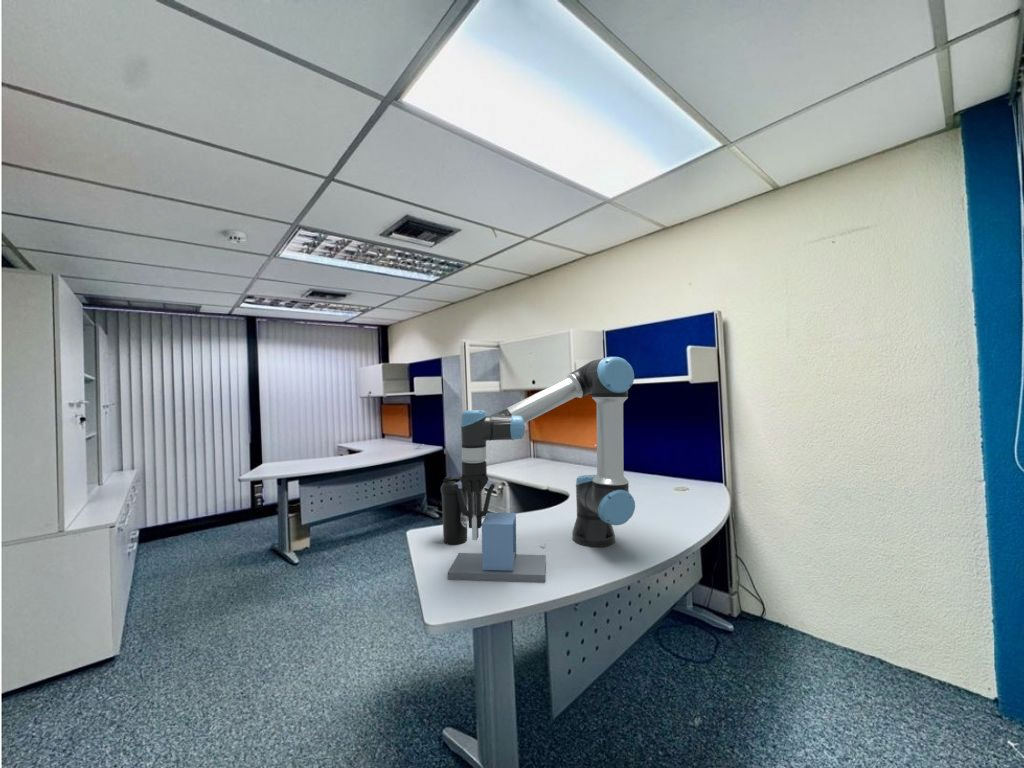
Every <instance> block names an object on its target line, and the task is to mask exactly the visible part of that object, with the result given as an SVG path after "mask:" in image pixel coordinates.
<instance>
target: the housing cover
mask: <svg viewBox="0 0 1024 768" xmlns="http://www.w3.org/2000/svg"><path fill="white" fill-rule="evenodd" d="M513 552H515V557H516V554H517V513H516V512H487V514H486V516H484V518H483V520H482V526H481V553H482V570H504V571H513V570H514V565H513Z"/></svg>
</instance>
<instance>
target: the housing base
mask: <svg viewBox="0 0 1024 768" xmlns="http://www.w3.org/2000/svg"><path fill="white" fill-rule="evenodd" d="M546 555H547V554H525V553H524V554H523V553H522V554H517V553H516V557H515V552H513V565H514V570H513V571H504V570H482V552H481V553H479V552H478V553H477V552H476V553H475V552H474V553H473V552H459V553H457V555H456V557H455V559H454V560H453V561H452V564H451V566H450V567H449V570H448V571H447V580H453V581H454V580H456V581H457V580H458V581H485V582H486V581H492V582H496V581H497V582H521V583H522V582H523V583H525V582H526V583H527V582H528V583H529V582H530V583H546V570H547V569H546V567H547V565H546V564H547V556H546Z"/></svg>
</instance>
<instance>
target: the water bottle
mask: <svg viewBox="0 0 1024 768" xmlns="http://www.w3.org/2000/svg"><path fill="white" fill-rule="evenodd" d="M461 477H462V476H456V477H455V476H454V477H451V475H449V476H448V475H447V476H446V477H444V478H443V480H442V484H441V486H440V493H441V505H442V507H441V508H442V533H443V543H444V544H446V545H450V546H457V545H458V546H459V545H462V544H465V543H466V542H467V541H468V526H469V520H468V517H467V516H463V515H462V511H461V507H460V503H459V499H458V495H457V492H456V490H455V489H454V487H453V486H454V484H455V483H458V482H459V481H460V479H461ZM462 490H463V494H464V498H465V502H466V506H467V510H468V495H467V490H466V488H465V487H464V486H463V484H462Z"/></svg>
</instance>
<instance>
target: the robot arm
mask: <svg viewBox="0 0 1024 768" xmlns="http://www.w3.org/2000/svg"><path fill="white" fill-rule="evenodd" d="M634 381H635V373H634V369H633V367H632V365H631V364H630V363H629V362H628V361H627V360H626V359H625V358H622V357H619V356H607V357H603V358H600V359H599V358H598V359H595V360H591V361H589V362H587V363H586V364H584V365H582V366H581V367H579V368H577V369H576V370H574V371H572V372H570V373H568V374H567V376H566V378H565V379H562V380H560V381H558V382H557V383H554V384H552V385H550V386H548V387H546V388H544V389H542V390H540V391H538V392H536V393H534V394H532V395H531V396H528V397H527V398H525V399H522V400H520V401H518V402H516V403H515V404H513V405H511V406H508V407H507V408H505V409H502V410H500V411H498V412H494V413H491V414H490V415H487V413H486V411H485V410H483V409H481V410H479V409H478V410H477V409H473V410H472V409H471V410H464V411H462V413H461V419H460V421H461V424H460V427H461V429H460V431H461V432H460V433H461V437H460V438H461V460H462V462H461V476H460V477H461V479H460V481H459V482H458V483H455V484H454V486H453V487H454V489H455V490H456V492H457V495H458V499H459V503H460V507H461V511H462V515H463V516H467V518H468V529H471V540H472V541H477V540H478V539H479V529H482V522H483V520H482V518H483V517H486V515H487V513H489V507H490V501H491V498H492V493H493V490H494V489H495V488H496V487H495V486H497V485H496V483H495V482H492V481H490V480H489V477H488V474H487V471H488V469H487V465H488V464H487V461H486V460H487V441H488V442H489V441H511V440H512V441H514V440H522V439H523V438H524V436H525V433H526V432H525V431H526V430H525V429H526V427H525V424H526V423H528V422H530V421H531V420H534V419H535V418H538V417H540V416H542V415H544V414H545V413H548V412H550V411H551V410H553V409H555V408H557V407H560V406H561V405H563V404H565V403H567V402H569V401H571V400H573V399H574V398H579V399H582V398H584V397H585V396H587V395H590V394H591V398H592V400H594V402H595V403H596V474H585V475H579V476H577V478H576V480H575V492H576V495H575V496H576V519H575V522H574V526H573V529H572V532H571V533H572V536H571V538H572V541H574V542H575V543H576V544H579V545H581V546H587V547H594V548H596V547H597V548H599V547H607V546H610V545H613V544H614V543H615V542H616V535H615V530H614V527H613V526H621V525H623V524H626V523H627V522H628V521H629V520H630V519H631V518H632V517H633V515H634V513H635V509H636V502H635V501H636V500H635V498H634V497H633V496H632V494H631V493H630V491H629V480H628V479H627V478H626V477H625V475H624V472H625V471H624V463H625V462H624V403H625V401H626V400H628V398H629V389H630V388H631V387H632V386H633V384H634ZM462 484H463V486H464V487H465V488H466V490H467V495H468V510H467V506H466V502H465V498H464V494H463V490H462ZM485 486H486V488H487V491H486V496H485V501H484V505H482V504H483V503H482V498H483V497H482V492H483V490H484V487H485ZM474 493H475V500H476V501H475V504H476V505H475V509H476V510H475V511H476V512H475V513H476V515H474ZM482 506H483V509H482Z"/></svg>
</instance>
